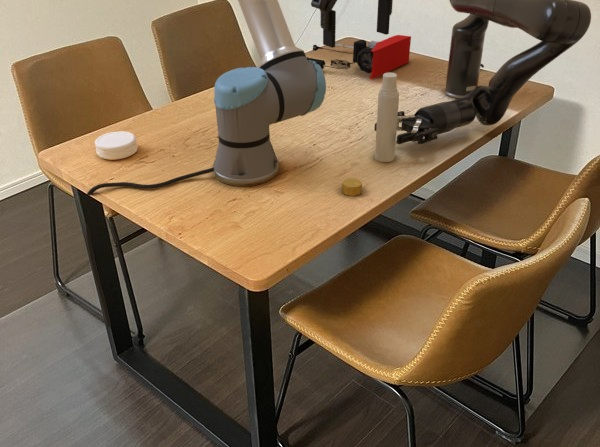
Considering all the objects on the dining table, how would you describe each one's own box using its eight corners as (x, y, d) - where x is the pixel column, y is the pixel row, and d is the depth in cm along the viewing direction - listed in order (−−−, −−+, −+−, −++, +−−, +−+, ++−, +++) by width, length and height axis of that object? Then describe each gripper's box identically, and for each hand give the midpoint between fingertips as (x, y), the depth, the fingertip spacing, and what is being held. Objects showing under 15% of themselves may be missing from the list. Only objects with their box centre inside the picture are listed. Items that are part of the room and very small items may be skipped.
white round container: (108, 164, 149) (105, 151, 148) (90, 151, 156) (87, 138, 154) (145, 152, 155) (143, 139, 153) (126, 139, 161) (123, 127, 159)
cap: (352, 198, 135) (352, 189, 133) (337, 191, 137) (338, 182, 136) (365, 191, 137) (366, 182, 136) (351, 184, 140) (351, 175, 139)
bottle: (373, 161, 149) (378, 77, 138) (375, 152, 153) (380, 70, 142) (393, 162, 148) (399, 78, 137) (395, 154, 152) (401, 71, 141)
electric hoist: (293, 36, 204) (372, 51, 189) (336, 22, 223) (412, 35, 208) (292, 67, 209) (370, 83, 194) (335, 51, 228) (409, 65, 213)
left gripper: (317, -75, 99) (317, 56, 111) (426, -88, 112) (416, 31, 123) (290, -79, 104) (292, 46, 116) (397, -91, 117) (390, 24, 128)
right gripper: (420, 96, 158) (369, 109, 151) (459, 114, 148) (406, 129, 141) (417, 123, 162) (367, 137, 155) (456, 142, 152) (404, 159, 145)
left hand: (356, 39), depth 119 cm, fingers open, 13 cm apart
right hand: (386, 133), depth 148 cm, fingers open, 8 cm apart
